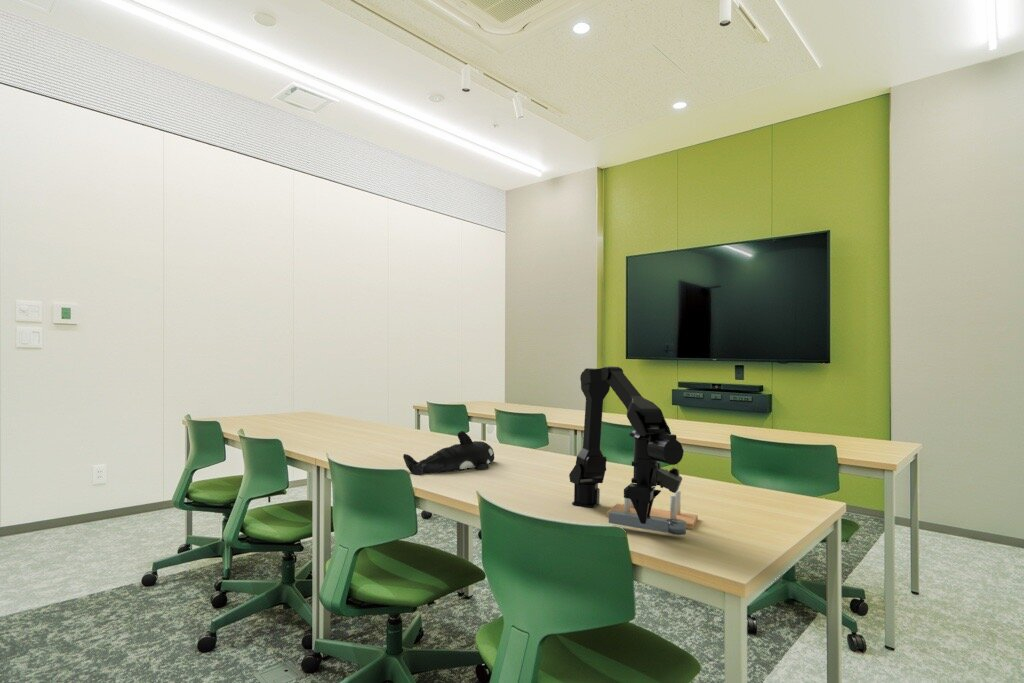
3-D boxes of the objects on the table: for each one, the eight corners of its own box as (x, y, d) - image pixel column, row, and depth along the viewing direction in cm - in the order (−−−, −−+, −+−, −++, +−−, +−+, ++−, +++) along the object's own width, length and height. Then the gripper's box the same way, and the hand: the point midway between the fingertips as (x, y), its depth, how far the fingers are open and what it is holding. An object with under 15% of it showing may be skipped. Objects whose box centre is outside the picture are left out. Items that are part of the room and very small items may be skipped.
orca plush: (511, 468, 208) (512, 431, 208) (414, 477, 186) (416, 436, 186) (484, 459, 226) (485, 425, 226) (393, 467, 204) (394, 429, 204)
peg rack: (607, 516, 142) (607, 489, 143) (617, 507, 151) (617, 482, 152) (692, 529, 132) (692, 500, 133) (697, 519, 141) (697, 492, 142)
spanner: (608, 523, 131) (608, 513, 131) (612, 519, 135) (612, 509, 135) (684, 536, 123) (684, 525, 123) (687, 530, 127) (687, 520, 127)
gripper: (673, 467, 118) (672, 538, 117) (685, 455, 134) (684, 517, 134) (623, 461, 123) (622, 529, 122) (641, 451, 139) (640, 510, 139)
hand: (644, 521), depth 129 cm, fingers closed on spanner, 3 cm apart
